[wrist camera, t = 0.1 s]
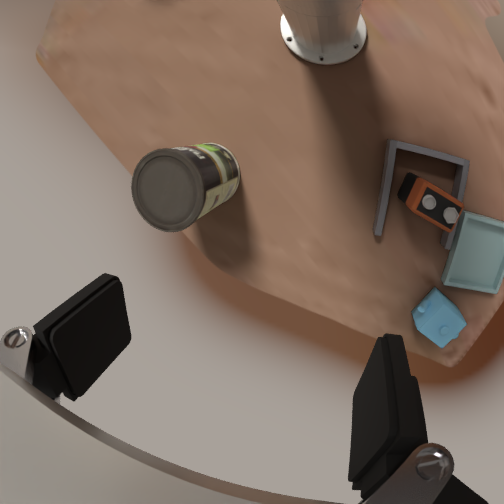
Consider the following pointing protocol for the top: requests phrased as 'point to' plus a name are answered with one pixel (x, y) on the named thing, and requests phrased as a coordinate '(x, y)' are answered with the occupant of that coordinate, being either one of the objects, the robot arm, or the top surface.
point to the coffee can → (183, 184)
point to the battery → (430, 202)
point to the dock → (387, 179)
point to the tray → (476, 254)
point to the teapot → (438, 318)
